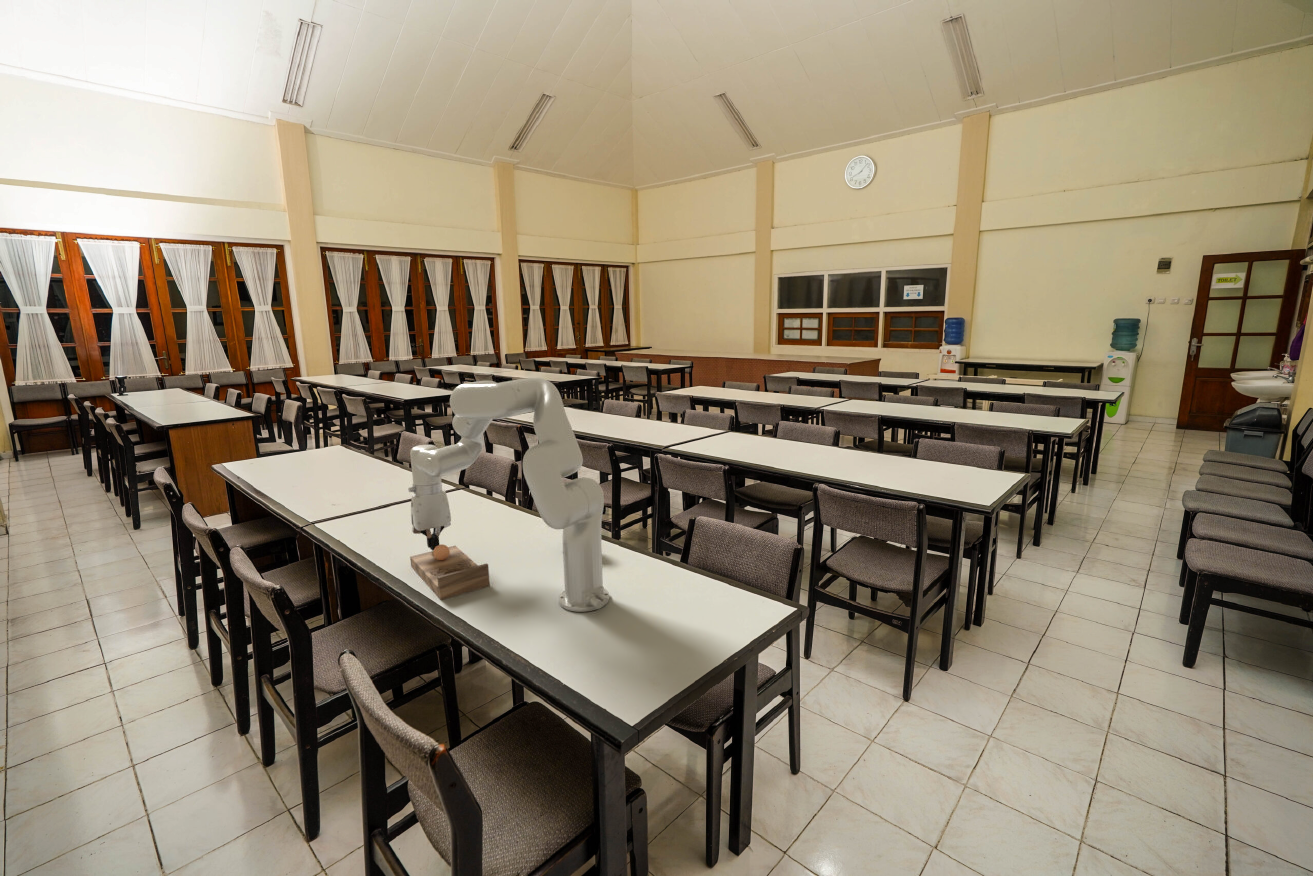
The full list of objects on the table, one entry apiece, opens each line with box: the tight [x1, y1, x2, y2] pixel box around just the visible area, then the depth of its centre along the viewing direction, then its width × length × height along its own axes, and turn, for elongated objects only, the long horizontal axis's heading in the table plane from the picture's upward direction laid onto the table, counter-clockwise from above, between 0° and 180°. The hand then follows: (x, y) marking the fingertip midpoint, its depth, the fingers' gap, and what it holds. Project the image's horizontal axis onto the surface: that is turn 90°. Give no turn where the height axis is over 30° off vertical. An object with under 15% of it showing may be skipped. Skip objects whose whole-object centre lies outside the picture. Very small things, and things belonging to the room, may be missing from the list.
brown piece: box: [409, 545, 491, 601], centre depth 164 cm, size 26×13×6 cm, turn 37°
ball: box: [433, 544, 450, 560], centre depth 168 cm, size 4×4×4 cm
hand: (433, 548), depth 174 cm, fingers closed
